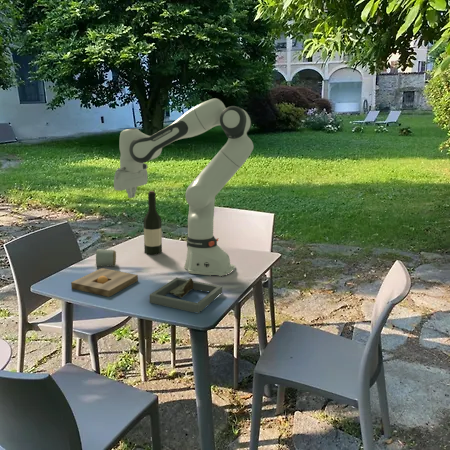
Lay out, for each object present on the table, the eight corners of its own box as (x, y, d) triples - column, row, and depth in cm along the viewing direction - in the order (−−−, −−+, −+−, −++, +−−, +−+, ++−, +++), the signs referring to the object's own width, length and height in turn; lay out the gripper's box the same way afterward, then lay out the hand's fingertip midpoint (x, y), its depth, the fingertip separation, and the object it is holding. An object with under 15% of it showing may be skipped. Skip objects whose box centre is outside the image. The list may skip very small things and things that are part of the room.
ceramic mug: (115, 268, 194) (114, 251, 192) (96, 269, 193) (95, 252, 191) (117, 260, 204) (116, 244, 202) (98, 261, 203) (97, 245, 201)
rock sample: (171, 278, 173) (183, 268, 168) (187, 289, 175) (199, 280, 169) (160, 298, 166) (172, 288, 160) (177, 309, 168) (189, 301, 162)
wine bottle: (145, 249, 220) (143, 189, 212) (162, 249, 221) (161, 189, 213) (144, 255, 212) (142, 193, 204) (161, 254, 213) (160, 192, 205)
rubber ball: (102, 286, 172) (108, 287, 175) (104, 276, 172) (111, 277, 176) (94, 284, 173) (100, 285, 177) (96, 274, 174) (103, 275, 177)
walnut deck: (137, 280, 181) (137, 274, 180) (109, 296, 165) (108, 290, 164) (102, 273, 188) (102, 267, 187) (71, 288, 172) (71, 282, 171)
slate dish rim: (222, 293, 169) (222, 286, 169) (198, 313, 153) (198, 305, 152) (176, 284, 177) (176, 277, 176) (149, 302, 160) (149, 294, 160)
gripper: (121, 169, 185) (123, 202, 188) (149, 164, 203) (150, 194, 206) (109, 168, 187) (110, 200, 191) (138, 163, 205) (138, 193, 209)
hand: (131, 197), depth 198 cm, fingers closed
